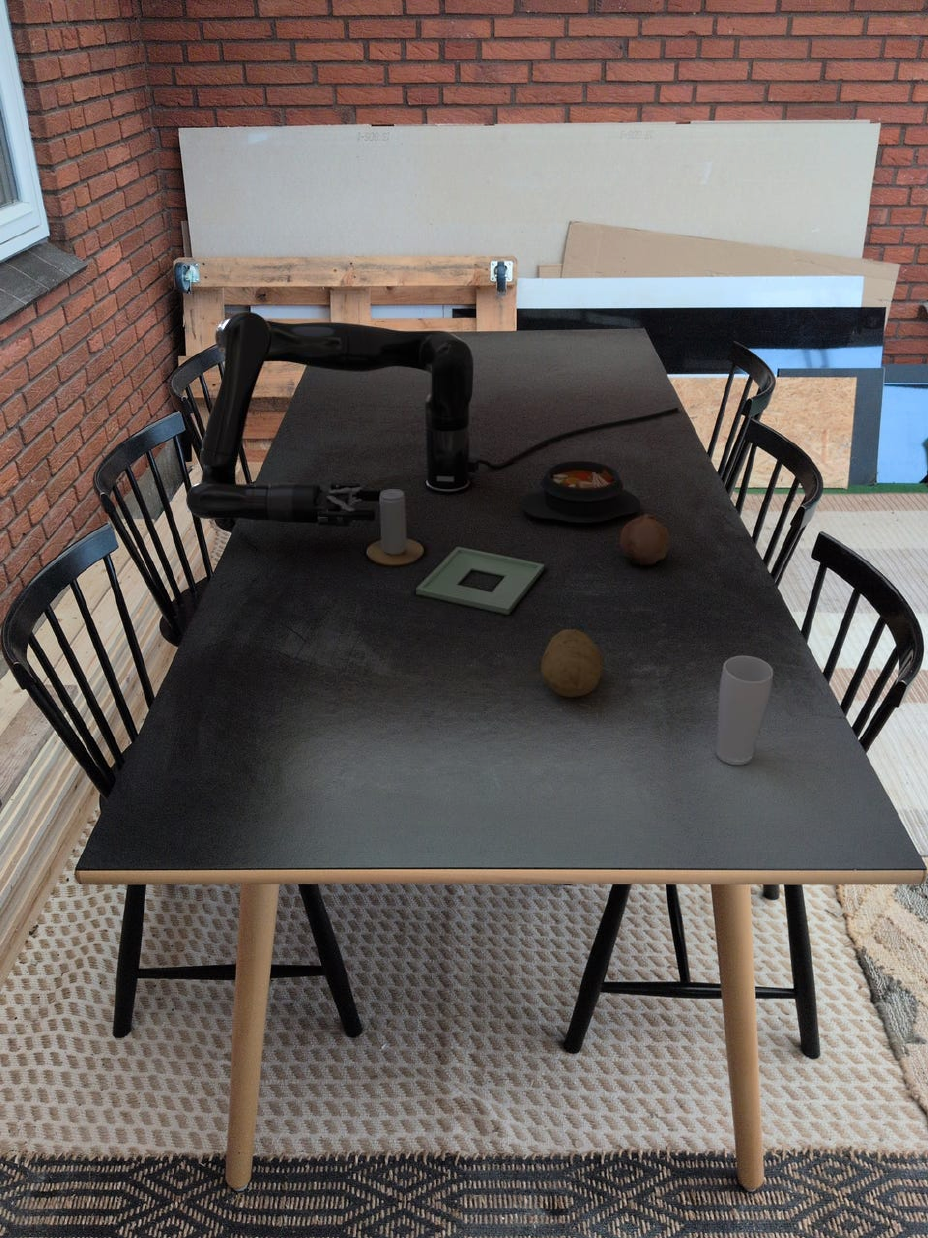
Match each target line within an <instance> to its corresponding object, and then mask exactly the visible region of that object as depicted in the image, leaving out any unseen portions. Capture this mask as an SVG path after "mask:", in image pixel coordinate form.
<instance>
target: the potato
mask: <svg viewBox="0 0 928 1238" xmlns="http://www.w3.org/2000/svg"><path fill="white" fill-rule="evenodd" d="M540 664H541V665H540V672H541V677H542V680H543V682H544V683H545V684H546V686H548V687H549V689H551V690H552V691H553V692H554V693H556V694H557V695H559V696H561V697H566V698H579V697H582V696H584V695H587V694H589V693H591V692H593V691H594V690H595V688H596V687H597V685H598V683H599V681H600V679H601V677H602V673H603V670H604V658H603V654H602V652H601V650H600V648H599V647H598V646H597V645H596V644H595V643H594V642H593V640H592V639H591V637H589V636H588V635H587V634H586V633H585V632H583V631H581V630H578V629H575V628H568V629H567V628H564V629H563V630H561V631H559V632H557V633H556V634H555V635H553V636H552V637H551V640H550V641H549V643H548V644H547V646H546V648H545V651H544V653H543V656H542V659H541V663H540Z"/></svg>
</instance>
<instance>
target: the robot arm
mask: <svg viewBox="0 0 928 1238" xmlns="http://www.w3.org/2000/svg"><path fill="white" fill-rule="evenodd" d="M214 340H215V344H216V347H217V349H218V351H219V352H220V353H221V354H222V355H223V357H224V367H223V373H222V378H221V382H220V386H219V389H218V393H217V395H216V398H215V401H214V403H213V405H212V408H211V410H210V414H209V416H208V420H207V422H206V426H205V430H204V434H203V440H202V444H201V450H200V454H199V456H200V457H199V462H200V464H201V465H202V473H201V474H202V475H201V481H200V482H198V483H195V484H194V485H192V486H191V487H190V489H189V490H188V491H187V493H186V497H185V503H186V507H187V508H188V510H189V511H190V513H191V514H193V516H195V517H197V518H200V519H203V520H218V519H219V520H220V519H221V520H224V519H226V520H227V519H244V520H251V521H272V522H280V523H295V524H298V523H299V524H317V523H318V526H327V527H346V528H347V527H350V525H351V523H355V522H356V521H359V522H361V521H367V522H374V521H375V520H376V509H375V508H370V507H369V508H364V507H355V508H354V507H352V506H353V505H354V503H358V502H380V499H379V498H380V493H381V492H382V491H383V490H382V489H375V488H373V489H370V488H368V489H367V488H363V487H361V483H359V482H332V483H330V484H329V490H322V489H321V486H320V485H319V484H318V483H312V482H311V483H309V482H308V483H307V482H306V483H305V482H277V483H261V482H260V483H255V482H253V483H241V484H240V483H236V478H237V477H236V475H237V474H236V470H237V464H238V460H239V457H240V452H241V447H242V442H243V437H244V433H245V428H246V422H247V418H248V415H249V410H250V406H251V402H252V399H253V395H254V391H255V388H256V385H257V382H258V379H259V376H260V373H261V371H262V368H263V366H264V363H265V362H283V363H292V364H297V365H302V366H308V367H314V368H319V369H324V370H325V369H326V370H332V371H343V372H352V373H353V372H355V373H356V372H357V373H366V372H367V373H368V372H372V371H373V372H374V371H377V370H381V369H386V368H393V367H401V368H408V369H409V368H410V369H416V370H420V371H425V372H427V373H429V374H431V376H430V377H431V380H430V381H431V382H430V383H431V387H430V394H428V395H427V396H426V398H425V402H424V403H425V404H424V405H425V406H424V407H425V408H424V409H425V444H426V445H425V446H426V447H425V448H426V487H427V488H428V489H429V490H431V491H433V492H436V493H441V494H454V493H459V492H462V491H465V490H467V489H468V488H469V486H470V473H472V474H475V473H476V472H477V471H478V470H480V464H482V465H485V466H487V467H488V468H490V469H494V470H496V469H502V468H504V467H505V468H506V467H507V466H508V465H510V464H511V463H513V462H515V461H517V460H518V459H521V458H522V457H524V456H526V455H528V454H529V453H531V452H532V451H535V450H536V449H539V448H541V447H543V446H545V445H547V444H550V443H552V442H553V443H554V442H555V441H558V440H560V439H564V438H567V437H570V436H574V435H578V434H581V433H585V432H589V431H594V430H598V429H604V428H608V427H613V426H618V425H619V426H620V425H623V424H629V423H634V422H640V421H645V420H649V419H654V418H657V417H662V416H666V415H669V414H672V413H677V412H679V408H678V407H675V408H671V409H667V410H664V411H660V412H656V413H652V414H647V415H642V416H637V417H632V418H627V419H622V420H615V421H611V422H606V423H601V424H596V425H591V426H587V427H583V428H579V429H578V428H577V429H573V430H571V431H568V432H564V433H561V434H557V435H556V436H552V437H550V438H547V439H545V440H542V441H540V442H538V443H535V444H534V445H532V446H530V447H528V448H527V449H525V450H523V451H521V452H520V453H517V454H516V455H514V456H512V457H511V458H509V459H507V460H506V461H504V462H502V463H500V464H499V463H498V464H493V463H491V462H489V461H488V460H486V459H480V458H477V457H470V403H471V400H472V397H473V389H474V356H473V352H472V349H471V348H470V346H469V345H468V343H466V342H465V341H464V340H463V339H461V338H459V337H458V336H457V335H455V334H453V332H452V333H451V332H449V331H445V330H397V329H391V328H386V327H382V326H381V327H380V326H374V325H366V324H360V323H351V322H350V323H349V322H339V321H315V322H314V321H313V322H302V323H301V322H299V323H298V322H297V323H287V322H279V321H278V322H277V321H273V320H272V321H271V320H267V319H264V317H262V316H261V315H260V314H258V313H256V312H252V311H241V312H236V313H232V314H230V315H228V316H226V317H224V319H222V320H221V321H220V322H219V324H218V326H217V327H216V330H215V334H214Z"/></svg>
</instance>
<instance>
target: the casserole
mask: <svg viewBox="0 0 928 1238" xmlns="http://www.w3.org/2000/svg"><path fill="white" fill-rule="evenodd" d="M540 487H541V488H542V490H537V491H533V492H529V493H526V494H525V495H524V496H523V497H522V498H521V501H520V506H521V509H523V511H524V512H525V513H526V514H528V515H530V516H531V517H534V518H538V519H543V520H544V519H545V520H556V521H563V522H566V523H567V522H568V523H575V524H594V523H601V522H606V521H609V520H612V519H615V518H618V517H622V516H627V515H633V514H636V513H637V512H639V510H641V502H640V500H639V498H638V497H637V496H636V495H635V494H633V493H632V492H630V491H628V490H627V489H624V484H623V481H622V479H620V476H619V473H618V472H617V470H615V468H613V467H610V466H608V465H606V464H603V463H600V462H594V461H586V460H573V461H565V462H560V463H557V464H555V465H552V466H550V467H549V468H548V469H547V470H546V473H545V475H544V476H543V477H542V478H541V480H540Z"/></svg>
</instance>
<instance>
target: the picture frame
mask: <svg viewBox="0 0 928 1238" xmlns="http://www.w3.org/2000/svg"><path fill="white" fill-rule="evenodd" d="M472 571H476V572H480V573H485V574H491V575H495V576H500V577H503V578H502V580H501V581H500V582H499V583H498V584H497V585H496V587H495V588H494V589H493V590H492V591H487V590H482V589H479V588H475V587H474V588H473V587H468V586H464V585H460V583H462V581H463V580H464V579H465V578H466V577H467V576H468V575H469V573H470V572H472ZM544 571H545V564H544V563H540V562H534V561H529V560H524V559H520V558H514V557H510V556H505V555H500V554H496V553H490V552H486V551H481V550H476V549H472V548H471V549H470V548H467V547H462V546H457V547H455V548H454V549H453V551H451V552H450V554H448V555H447V556H446V558H444V559H443V561H442V562H440V564H439V565H438V566H437V567H436V568H434V569H433V571H432V572H431V573H430V574H429V575H428V576H426V578H425V579H424V580H423V581H422V582H421V583H420V584H418V586H417V587H416V589H415V593H416V595H419V596H423V597H428V598H432V599H437V600H440V601H441V600H442V601H445V602H449V603H454V604H458V605H463V606H468V607H472V608H477V609H481V610H485V611H490V612H494V613H499V614H503V615H507V616H509V615H510V614H511V612H512V611H513V610H514V609H515V607H516V606H517V605H518V603H519V602H520V601H521V599H523V597H524V596H525V594H526V593H527V592H528V591H529V590H530V589H531V587H532V586H533V585H534V584H535V582H536V581H537V579H538V578H539V577H540V576H541V575H542V573H543V572H544Z"/></svg>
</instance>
